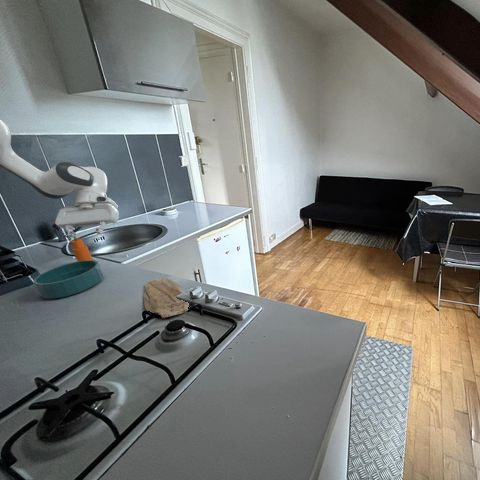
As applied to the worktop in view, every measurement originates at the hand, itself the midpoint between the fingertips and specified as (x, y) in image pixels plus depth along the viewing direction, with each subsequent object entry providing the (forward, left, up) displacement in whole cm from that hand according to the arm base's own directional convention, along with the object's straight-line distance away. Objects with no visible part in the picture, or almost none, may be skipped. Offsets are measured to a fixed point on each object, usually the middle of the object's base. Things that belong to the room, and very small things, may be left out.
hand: (85, 234), depth 100 cm
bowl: (-13, -20, -10) cm, 26 cm away
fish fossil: (-3, -54, -10) cm, 55 cm away
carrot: (-4, -4, -10) cm, 11 cm away
